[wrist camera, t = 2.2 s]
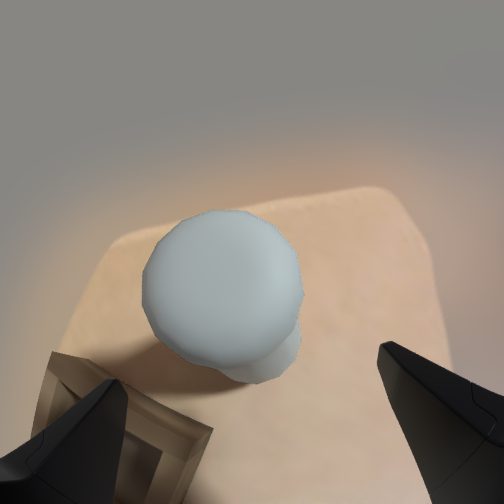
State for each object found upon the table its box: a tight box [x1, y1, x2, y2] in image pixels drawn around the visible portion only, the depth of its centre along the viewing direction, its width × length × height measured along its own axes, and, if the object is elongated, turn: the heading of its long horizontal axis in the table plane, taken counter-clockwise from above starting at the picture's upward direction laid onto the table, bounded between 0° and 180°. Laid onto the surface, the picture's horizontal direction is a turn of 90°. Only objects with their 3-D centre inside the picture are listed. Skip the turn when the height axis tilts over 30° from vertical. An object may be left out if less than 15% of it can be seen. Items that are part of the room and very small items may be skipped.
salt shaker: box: [142, 210, 304, 384], centre depth 12 cm, size 6×6×13 cm
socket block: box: [31, 351, 214, 504], centre depth 12 cm, size 11×11×4 cm
